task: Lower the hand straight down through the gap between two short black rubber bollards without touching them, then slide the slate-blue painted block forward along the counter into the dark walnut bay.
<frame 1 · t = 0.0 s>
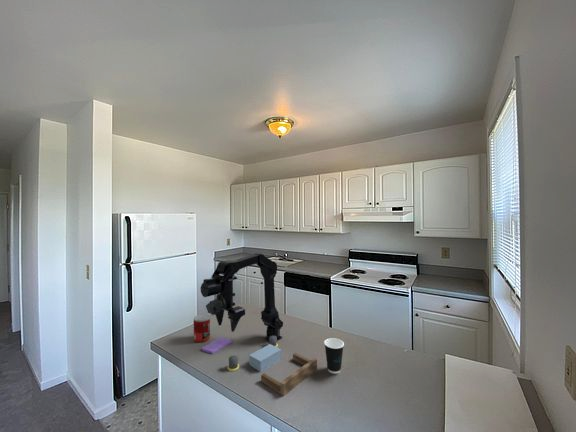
hand: (226, 328, 107), 15 cm above the countertop, fingers open, 9 cm apart
canned food: (202, 339, 128), on the countertop
sponges: (217, 347, 121), on the countertop
bollards: (254, 355, 112), on the countertop
bay: (288, 374, 99), on the countertop
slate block: (265, 362, 108), on the countertop
dixie cup: (334, 370, 102), on the countertop
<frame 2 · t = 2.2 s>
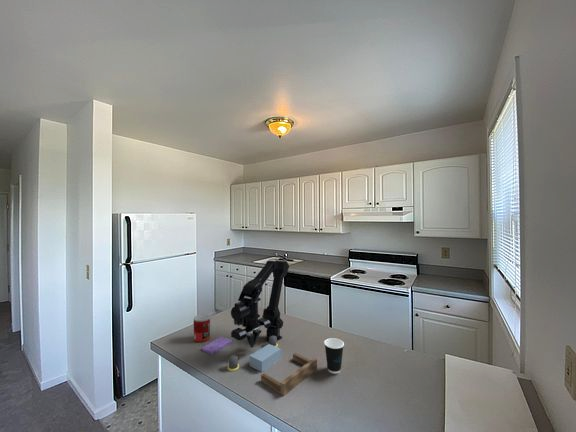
hand: (251, 347, 114), 3 cm above the countertop, fingers closed
nothing on the countertop moved.
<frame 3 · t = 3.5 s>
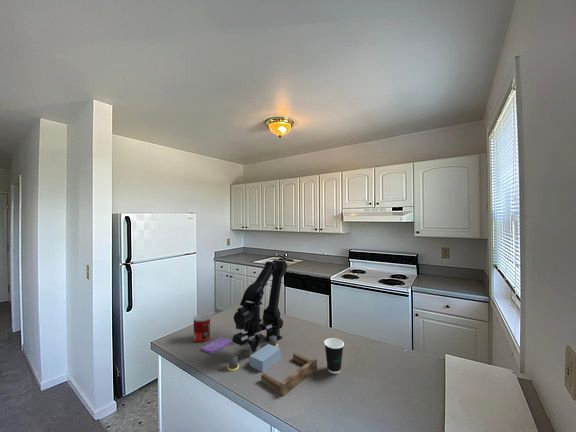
hand: (253, 352, 113), 2 cm above the countertop, fingers closed
nothing on the countertop moved.
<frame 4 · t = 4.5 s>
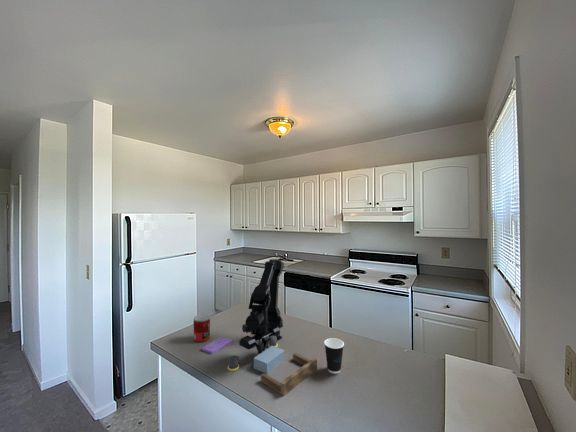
hand: (260, 355, 109), 2 cm above the countertop, fingers closed
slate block: (269, 364, 106), on the countertop
everything else where it was.
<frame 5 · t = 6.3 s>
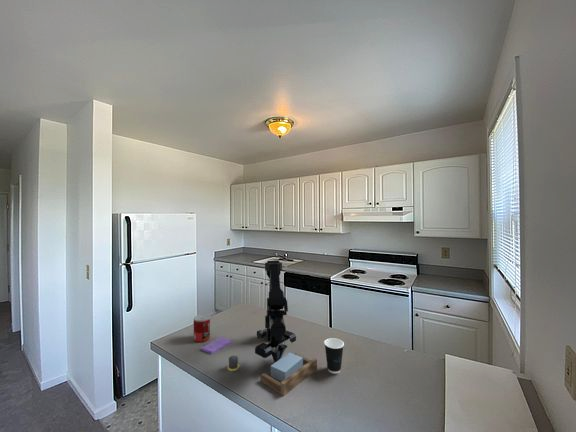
hand: (276, 364, 103), 2 cm above the countertop, fingers closed
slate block: (287, 372, 101), on the countertop
everything else where it was.
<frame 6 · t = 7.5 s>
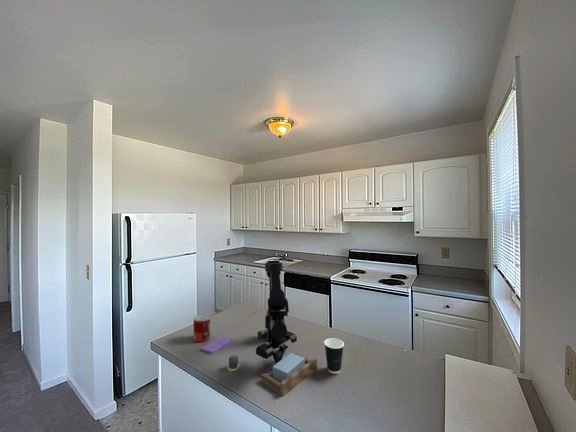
hand: (277, 364, 103), 1 cm above the countertop, fingers closed
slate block: (289, 373, 100), on the countertop
everything else where it was.
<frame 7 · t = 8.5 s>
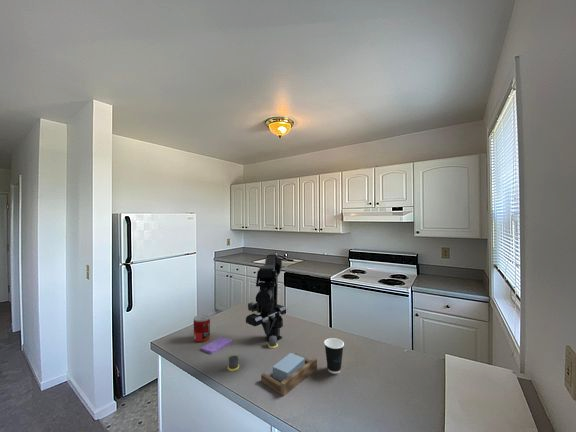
hand: (267, 334, 107), 12 cm above the countertop, fingers closed
nothing on the countertop moved.
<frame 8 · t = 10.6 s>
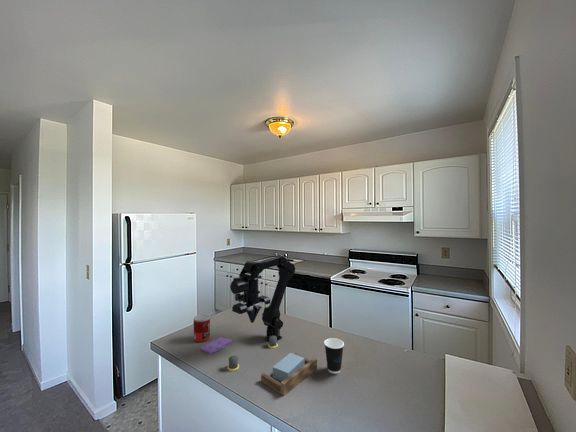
hand: (252, 322, 118), 13 cm above the countertop, fingers closed
nothing on the countertop moved.
at the end: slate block inside the target area (0.9 cm from its centre), on the countertop; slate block tilted 0°; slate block moved 12.6 cm from its start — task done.
